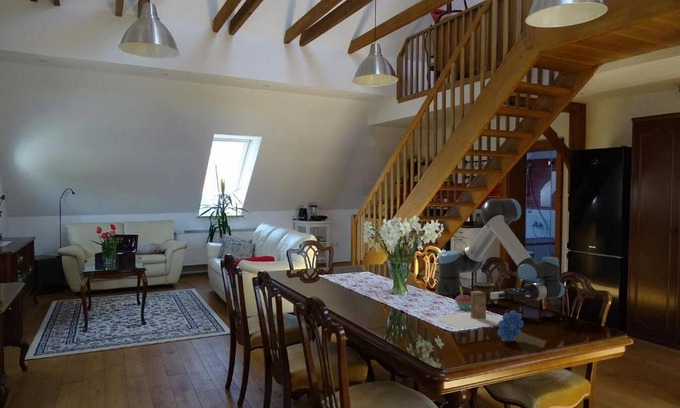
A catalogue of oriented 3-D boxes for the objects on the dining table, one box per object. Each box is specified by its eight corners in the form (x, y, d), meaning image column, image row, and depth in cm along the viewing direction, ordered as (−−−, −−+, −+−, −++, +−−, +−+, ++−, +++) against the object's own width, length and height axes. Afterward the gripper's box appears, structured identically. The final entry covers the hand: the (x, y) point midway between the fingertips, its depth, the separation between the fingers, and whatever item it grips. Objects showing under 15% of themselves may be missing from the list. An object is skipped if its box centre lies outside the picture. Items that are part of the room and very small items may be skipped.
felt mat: (433, 318, 220) (433, 316, 220) (482, 312, 228) (482, 311, 228) (457, 330, 201) (457, 328, 201) (509, 323, 209) (509, 322, 209)
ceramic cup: (491, 300, 252) (491, 282, 252) (495, 305, 242) (495, 285, 242) (466, 300, 254) (466, 281, 253) (469, 305, 244) (469, 285, 243)
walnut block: (470, 317, 218) (470, 291, 217) (479, 316, 219) (479, 290, 219) (477, 320, 213) (477, 293, 213) (485, 319, 214) (485, 293, 214)
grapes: (515, 336, 192) (515, 306, 191) (527, 341, 185) (527, 310, 185) (490, 339, 188) (490, 309, 188) (502, 344, 182) (502, 313, 181)
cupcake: (453, 310, 234) (453, 285, 233) (457, 306, 241) (457, 282, 241) (471, 312, 230) (471, 287, 229) (474, 308, 237) (474, 284, 237)
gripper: (543, 302, 219) (500, 307, 212) (524, 296, 231) (482, 300, 224) (543, 286, 219) (500, 290, 211) (524, 281, 231) (482, 284, 224)
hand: (491, 295), depth 218 cm, fingers closed
